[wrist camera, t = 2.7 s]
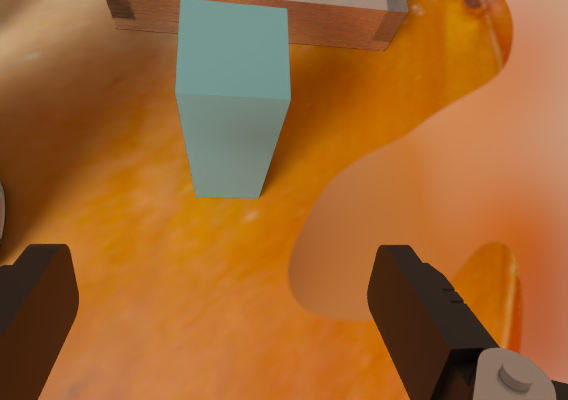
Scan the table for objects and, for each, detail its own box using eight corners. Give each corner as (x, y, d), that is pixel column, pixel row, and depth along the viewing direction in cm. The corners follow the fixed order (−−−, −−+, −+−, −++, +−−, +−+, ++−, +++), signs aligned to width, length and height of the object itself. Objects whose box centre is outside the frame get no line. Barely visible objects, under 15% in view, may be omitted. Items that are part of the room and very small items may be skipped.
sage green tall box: (195, 197, 24) (175, 92, 13) (197, 140, 25) (180, -2, 14) (258, 198, 25) (290, 99, 14) (257, 142, 26) (287, 8, 15)
